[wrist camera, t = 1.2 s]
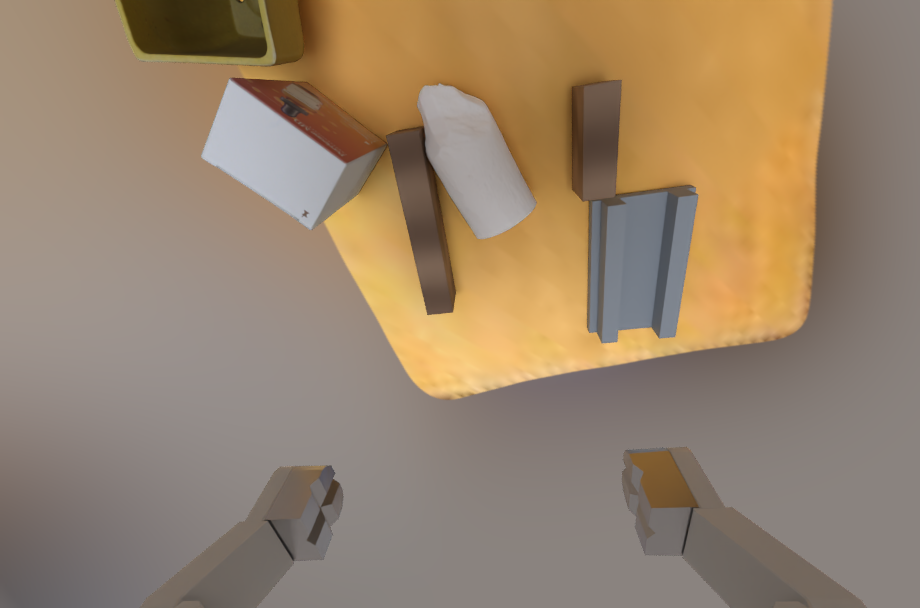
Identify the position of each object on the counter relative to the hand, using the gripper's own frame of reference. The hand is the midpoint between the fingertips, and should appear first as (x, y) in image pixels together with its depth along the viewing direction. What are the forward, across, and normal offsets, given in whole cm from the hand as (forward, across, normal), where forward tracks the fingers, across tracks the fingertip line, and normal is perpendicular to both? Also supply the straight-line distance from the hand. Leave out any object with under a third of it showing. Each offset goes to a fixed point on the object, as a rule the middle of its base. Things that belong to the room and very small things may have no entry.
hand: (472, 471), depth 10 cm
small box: (+27, +12, -8) cm, 31 cm away
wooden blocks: (+28, +5, 0) cm, 28 cm away
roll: (+28, 0, -6) cm, 28 cm away
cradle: (+28, -14, +7) cm, 32 cm away
